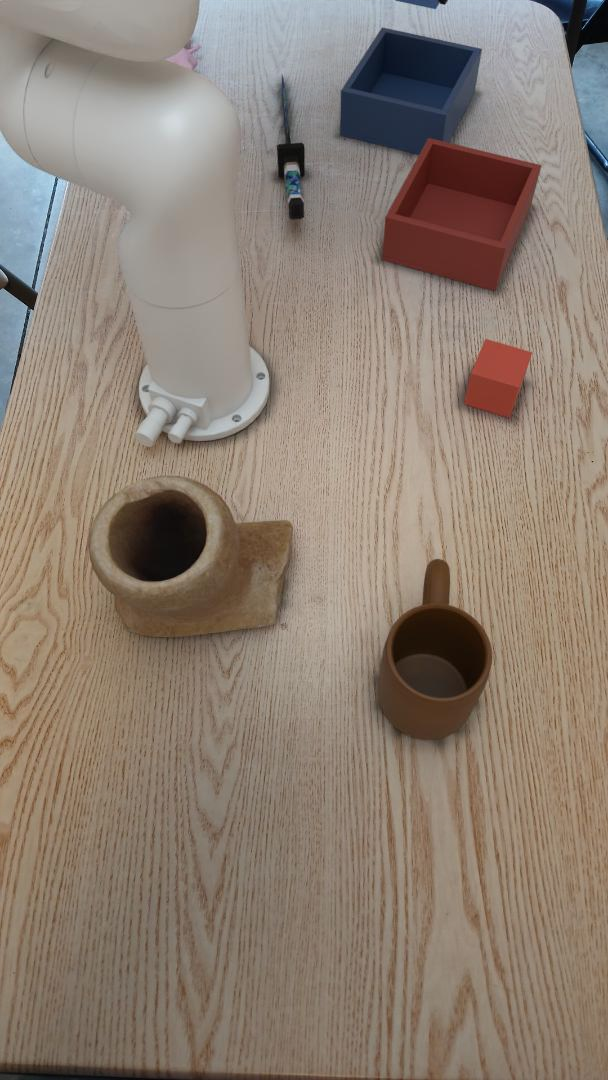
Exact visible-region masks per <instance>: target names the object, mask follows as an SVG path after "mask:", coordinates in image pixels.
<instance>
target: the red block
mask: <svg viewBox="0 0 608 1080" xmlns="http://www.w3.org/2000/svg"><path fill="white" fill-rule="evenodd" d="M532 355H533V352H532V351H530V350H526V349H523V348H519V347H515V346H512V345H509V344H506V343H502V342H498V341H495V340H491V339H489V338H485V339H484V341H483V343H482V345H481V348H480V351H479V353H478V355H477V357H476V360H475V362H474V365H473V367H472V370H471V372H470V376H469V380H468V385H467V389H466V392H465V397H464V402H463V405H465V406H469V407H472V408H474V409H475V408H476V409H478V410H481V411H485V412H488V413H491V414H495V415H498V416H501V417H505V418H507V419H510V418H511V415H512V413H513V410H514V407H515V405H516V403H517V399H518V396H519V394H520V392H521V388H522V386H523V383H524V380H525V377H526V374H527V370H528V369H529V365H530V362H531V358H532Z"/></svg>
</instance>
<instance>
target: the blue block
mask: <svg viewBox="0 0 608 1080" xmlns="http://www.w3.org/2000/svg"><path fill="white" fill-rule="evenodd" d="M394 1H395V2H399V3H404V4H409V5H414V6H418V7H423V8H429V9H433V10H437V8H438V6H439V5H440V2H439V0H394Z"/></svg>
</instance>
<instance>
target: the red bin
mask: <svg viewBox="0 0 608 1080" xmlns="http://www.w3.org/2000/svg"><path fill="white" fill-rule="evenodd" d="M541 169H542V164H538V163H534V162H529V161H526V160H522V159H518V158H513V157H510V156H506V155H501V154H497V153H492V152H489V151H484V150H480V149H476V148H473V147H468V146H464V145H460V144H455V143H452V142H449V143H448V142H444V141H440V140H435V139H431V138H428V139H427V141H426V143H425V145H424V147H423V149H422V151H421V152H420V154H418V156H417V158H416V160H415V162H414V163H413V165H412V167H411V169H410V171H409V173H408V174H407V176H406V178H405V179H404V182H403V184H402V186H401V187H400V189H399V191H398V192H397V194H396V197H395V198H394V200H393V202H392V204H391V206H390V208H389V209H388V211H387V213H386V215H385V217H384V229H383V243H382V253H381V260H382V261H386V262H389V263H392V264H396V265H400V266H404V267H407V268H410V269H414V270H418V271H421V272H425V273H429V274H431V275H435V276H440V277H443V278H447V279H451V280H454V281H458V282H461V283H464V284H468V285H471V286H476V287H478V288H482V289H486V290H490V291H494V292H496V290H497V288H498V286H499V283H500V281H501V279H502V276H503V274H504V272H505V270H506V268H507V265H508V262H509V260H510V258H511V256H512V252H513V251H514V248H515V246H516V244H517V241H518V239H519V237H520V235H521V231H522V230H523V227H524V225H525V222H526V220H527V217H528V216H529V213H530V211H531V208H532V203H533V200H534V196H535V192H536V188H537V185H538V181H539V177H540V173H541Z"/></svg>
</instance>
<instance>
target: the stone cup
mask: <svg viewBox="0 0 608 1080" xmlns="http://www.w3.org/2000/svg"><path fill="white" fill-rule="evenodd" d="M293 532H294V528H293V524H292V522H291V521H290V520H286V519H285V520H284V519H282V520H263V521H261V520H260V521H247V522H236V520H235V518H234V516H233V514H232V511H231V509H230V507H229V505H228V504H227V503H226V501H225V500H224V499H223V498H222V497H221V495H220V494H218V493H217V492H216V491H215V490H213V489H212V488H211V487H209V486H208V485H206V484H205V483H202V482H200V481H198V480H195V479H193V478H190V477H186V476H181V475H157V476H152V477H147V478H145V479H141V480H138V481H136V482H133V483H131V484H129V485H127V486H125V487H123V488H122V489H121V490H119V491H118V492H116V493H114V494H112V496H111V497H110V498H108V499H107V500H106V501H105V503H103V505H102V506H101V508H100V509H99V510H98V511H97V514H96V515H95V517H94V519H93V521H92V524H91V525H90V529H89V534H88V542H87V548H88V556H89V561H90V564H91V567H92V570H93V571H94V573H95V576H96V577H97V579H98V580H99V582H100V583H101V585H102V586H103V587H104V588H105V589H106V590H107V591H108V592H109V593H110V594H112V596H113V600H114V608H115V612H116V614H117V616H118V617H119V618H120V621H121V624H122V625H123V627H124V628H125V629H126V630H127V631H129V632H130V633H134V634H136V635H140V636H146V637H154V638H156V637H157V638H181V637H191V636H192V637H193V636H199V635H207V634H217V633H225V632H232V631H240V630H246V629H254V628H262V627H266V626H271V625H275V624H276V623H277V618H278V609H279V607H280V605H281V595H282V590H283V587H284V578H285V574H286V572H287V569H288V567H289V564H290V562H291V551H292V542H293V541H292V540H293Z"/></svg>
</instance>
